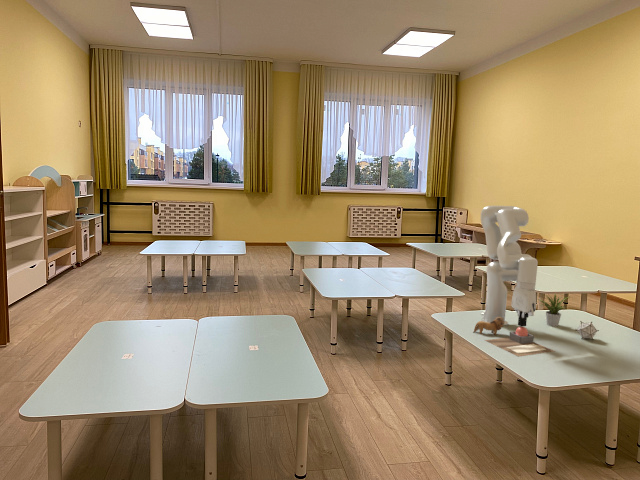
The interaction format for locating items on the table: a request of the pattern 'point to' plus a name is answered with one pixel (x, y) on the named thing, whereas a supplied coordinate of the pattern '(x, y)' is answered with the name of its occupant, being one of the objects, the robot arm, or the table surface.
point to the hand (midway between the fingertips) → (521, 325)
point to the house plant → (553, 311)
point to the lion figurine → (490, 325)
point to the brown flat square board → (519, 347)
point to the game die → (586, 330)
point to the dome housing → (521, 338)
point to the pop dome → (521, 331)
